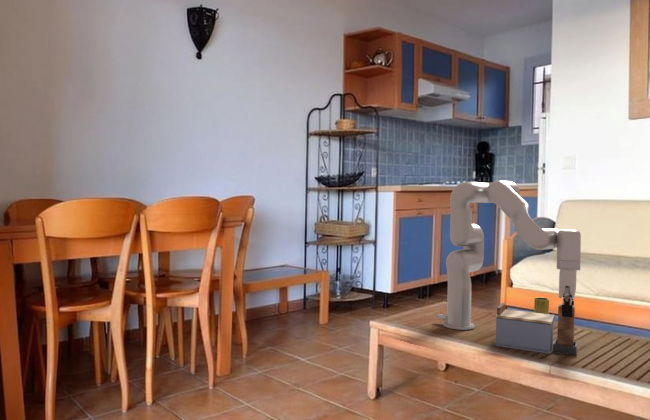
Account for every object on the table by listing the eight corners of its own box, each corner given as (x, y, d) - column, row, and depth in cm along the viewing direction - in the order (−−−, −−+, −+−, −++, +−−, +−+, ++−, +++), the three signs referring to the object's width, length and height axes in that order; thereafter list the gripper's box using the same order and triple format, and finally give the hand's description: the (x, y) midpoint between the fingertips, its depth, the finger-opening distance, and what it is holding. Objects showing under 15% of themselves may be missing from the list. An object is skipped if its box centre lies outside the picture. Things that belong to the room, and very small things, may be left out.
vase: (550, 337, 200) (551, 300, 200) (533, 336, 201) (535, 299, 201) (547, 333, 206) (548, 297, 206) (530, 332, 207) (532, 296, 207)
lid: (495, 317, 186) (495, 308, 186) (501, 310, 198) (501, 302, 197) (551, 324, 178) (551, 314, 178) (554, 317, 189) (554, 308, 189)
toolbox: (495, 345, 187) (496, 318, 187) (501, 338, 197) (502, 311, 197) (549, 353, 178) (550, 324, 178) (552, 345, 189) (553, 318, 189)
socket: (553, 352, 180) (553, 343, 180) (554, 347, 186) (555, 339, 186) (576, 355, 177) (576, 347, 176) (577, 350, 183) (577, 342, 183)
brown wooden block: (556, 352, 180) (558, 306, 180) (558, 348, 185) (559, 303, 184) (572, 354, 178) (574, 308, 178) (573, 350, 182) (575, 305, 182)
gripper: (558, 262, 190) (558, 308, 190) (554, 267, 175) (554, 317, 175) (581, 263, 186) (580, 310, 187) (579, 268, 171) (578, 320, 171)
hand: (567, 314), depth 181 cm, fingers open, 9 cm apart
